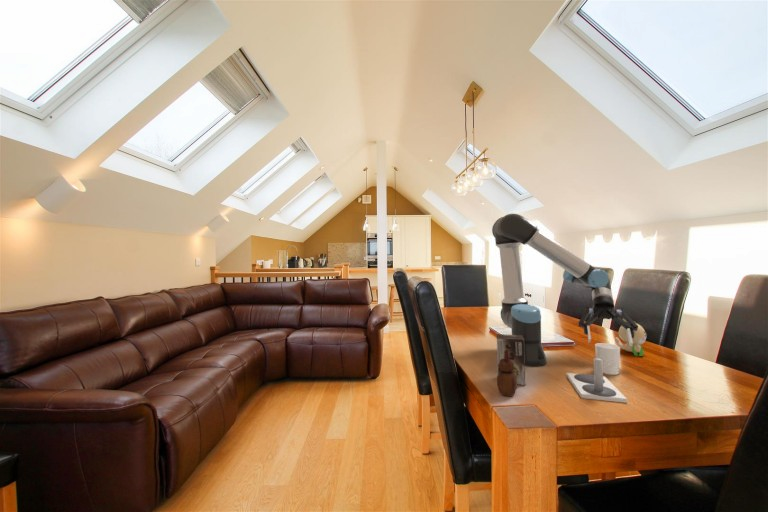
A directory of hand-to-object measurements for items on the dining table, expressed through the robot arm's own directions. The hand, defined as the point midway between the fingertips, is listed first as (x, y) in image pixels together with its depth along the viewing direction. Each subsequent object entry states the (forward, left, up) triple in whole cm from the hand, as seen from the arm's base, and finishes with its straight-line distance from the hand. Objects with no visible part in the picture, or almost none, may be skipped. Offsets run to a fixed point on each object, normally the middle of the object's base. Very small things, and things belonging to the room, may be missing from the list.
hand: (609, 342), depth 124 cm
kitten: (+17, +26, -10) cm, 33 cm away
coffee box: (-39, -26, -10) cm, 47 cm away
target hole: (-13, -20, -9) cm, 25 cm away
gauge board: (-13, -25, -10) cm, 29 cm away
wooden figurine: (-41, -38, -10) cm, 56 cm away
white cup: (-3, -6, -10) cm, 12 cm away
